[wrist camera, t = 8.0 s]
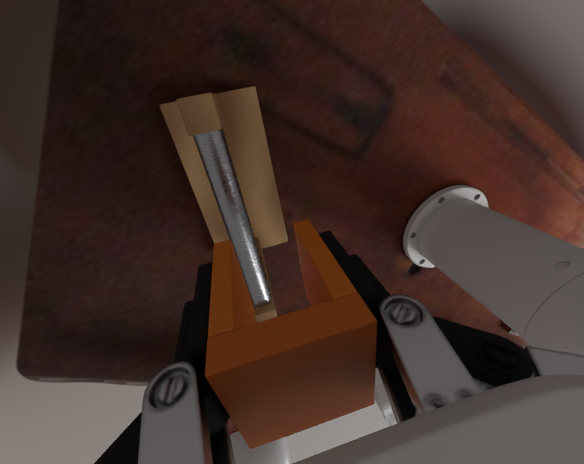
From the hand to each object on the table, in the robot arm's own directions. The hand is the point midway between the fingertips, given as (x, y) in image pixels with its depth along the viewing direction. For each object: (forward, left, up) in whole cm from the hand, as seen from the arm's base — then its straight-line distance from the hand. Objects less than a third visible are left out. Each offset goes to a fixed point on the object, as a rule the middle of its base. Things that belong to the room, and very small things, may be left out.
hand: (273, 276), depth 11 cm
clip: (0, 0, -1) cm, 1 cm away
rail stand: (+1, +1, -17) cm, 17 cm away
